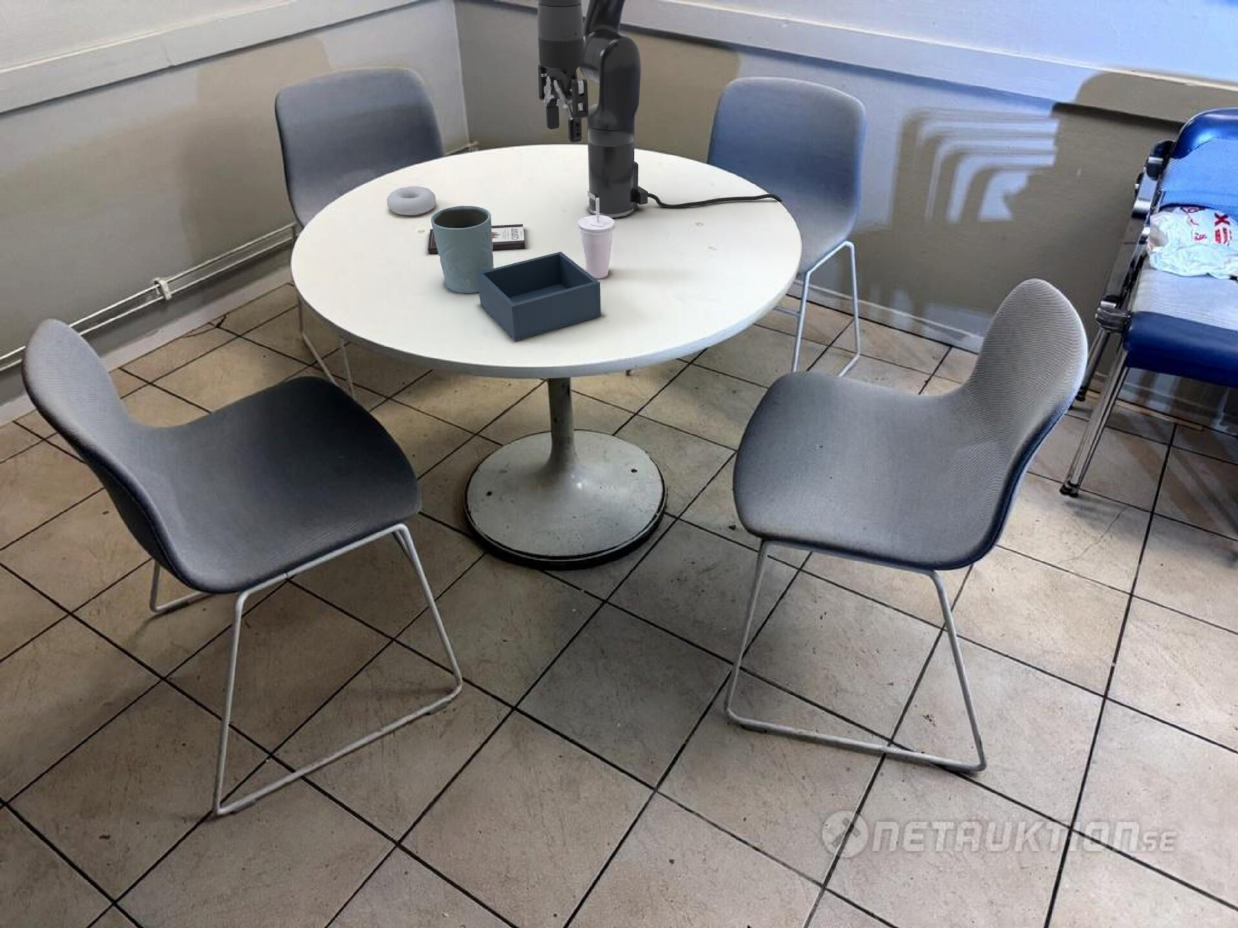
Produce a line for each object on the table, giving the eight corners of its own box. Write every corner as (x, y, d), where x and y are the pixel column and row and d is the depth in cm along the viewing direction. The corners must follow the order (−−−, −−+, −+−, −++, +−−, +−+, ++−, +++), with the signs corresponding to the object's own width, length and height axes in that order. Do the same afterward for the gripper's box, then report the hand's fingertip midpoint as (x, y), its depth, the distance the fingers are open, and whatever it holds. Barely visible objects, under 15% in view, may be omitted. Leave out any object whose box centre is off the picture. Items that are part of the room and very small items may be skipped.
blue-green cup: (472, 300, 142) (464, 233, 134) (428, 286, 146) (417, 220, 138) (509, 277, 148) (503, 212, 141) (465, 264, 153) (457, 200, 145)
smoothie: (589, 285, 146) (587, 207, 137) (573, 270, 151) (570, 194, 142) (621, 277, 148) (621, 200, 140) (605, 263, 153) (604, 188, 144)
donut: (439, 199, 177) (391, 200, 177) (437, 183, 175) (388, 184, 174) (435, 218, 170) (385, 218, 169) (432, 201, 168) (382, 202, 167)
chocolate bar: (430, 229, 162) (522, 224, 164) (430, 233, 163) (523, 228, 165) (427, 248, 155) (524, 243, 157) (428, 253, 156) (525, 248, 158)
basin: (562, 283, 147) (561, 251, 143) (601, 316, 137) (600, 282, 134) (480, 305, 140) (476, 272, 137) (515, 341, 131) (511, 306, 127)
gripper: (601, 40, 134) (602, 143, 144) (561, 23, 144) (564, 121, 154) (560, 45, 131) (563, 149, 142) (521, 28, 141) (527, 127, 151)
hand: (564, 134), depth 148 cm, fingers open, 8 cm apart
